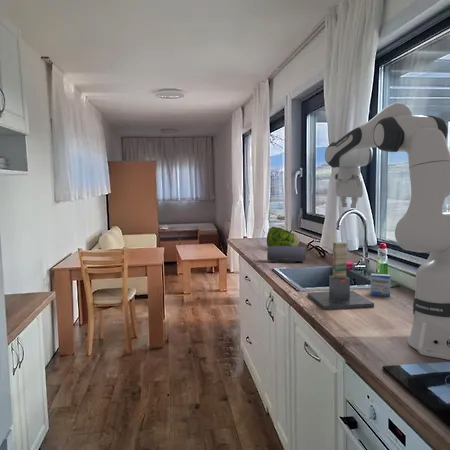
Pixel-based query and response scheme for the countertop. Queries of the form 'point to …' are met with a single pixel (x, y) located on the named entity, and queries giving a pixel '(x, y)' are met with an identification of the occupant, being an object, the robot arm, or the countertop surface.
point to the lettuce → (281, 237)
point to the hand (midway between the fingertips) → (348, 207)
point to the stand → (339, 296)
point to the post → (339, 259)
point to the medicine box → (380, 284)
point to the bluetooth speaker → (286, 254)
